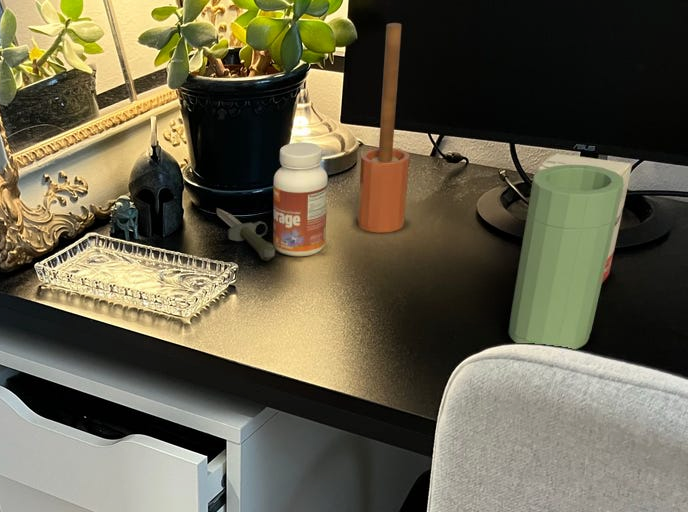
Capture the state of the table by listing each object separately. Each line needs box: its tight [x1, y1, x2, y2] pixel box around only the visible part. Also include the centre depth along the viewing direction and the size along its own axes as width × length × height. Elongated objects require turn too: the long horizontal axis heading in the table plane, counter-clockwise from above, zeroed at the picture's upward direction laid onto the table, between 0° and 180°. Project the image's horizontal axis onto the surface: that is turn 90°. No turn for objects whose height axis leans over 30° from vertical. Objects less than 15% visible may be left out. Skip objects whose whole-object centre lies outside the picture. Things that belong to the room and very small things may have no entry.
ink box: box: [536, 153, 633, 284], centre depth 107 cm, size 9×5×12 cm, turn 56°
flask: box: [508, 164, 624, 350], centre depth 96 cm, size 8×8×15 cm
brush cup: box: [357, 147, 411, 234], centre depth 121 cm, size 6×6×8 cm
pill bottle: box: [273, 141, 329, 257], centre depth 116 cm, size 6×6×11 cm
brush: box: [372, 22, 402, 162], centre depth 117 cm, size 3×3×21 cm
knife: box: [216, 207, 277, 262], centre depth 123 cm, size 19×2×5 cm
